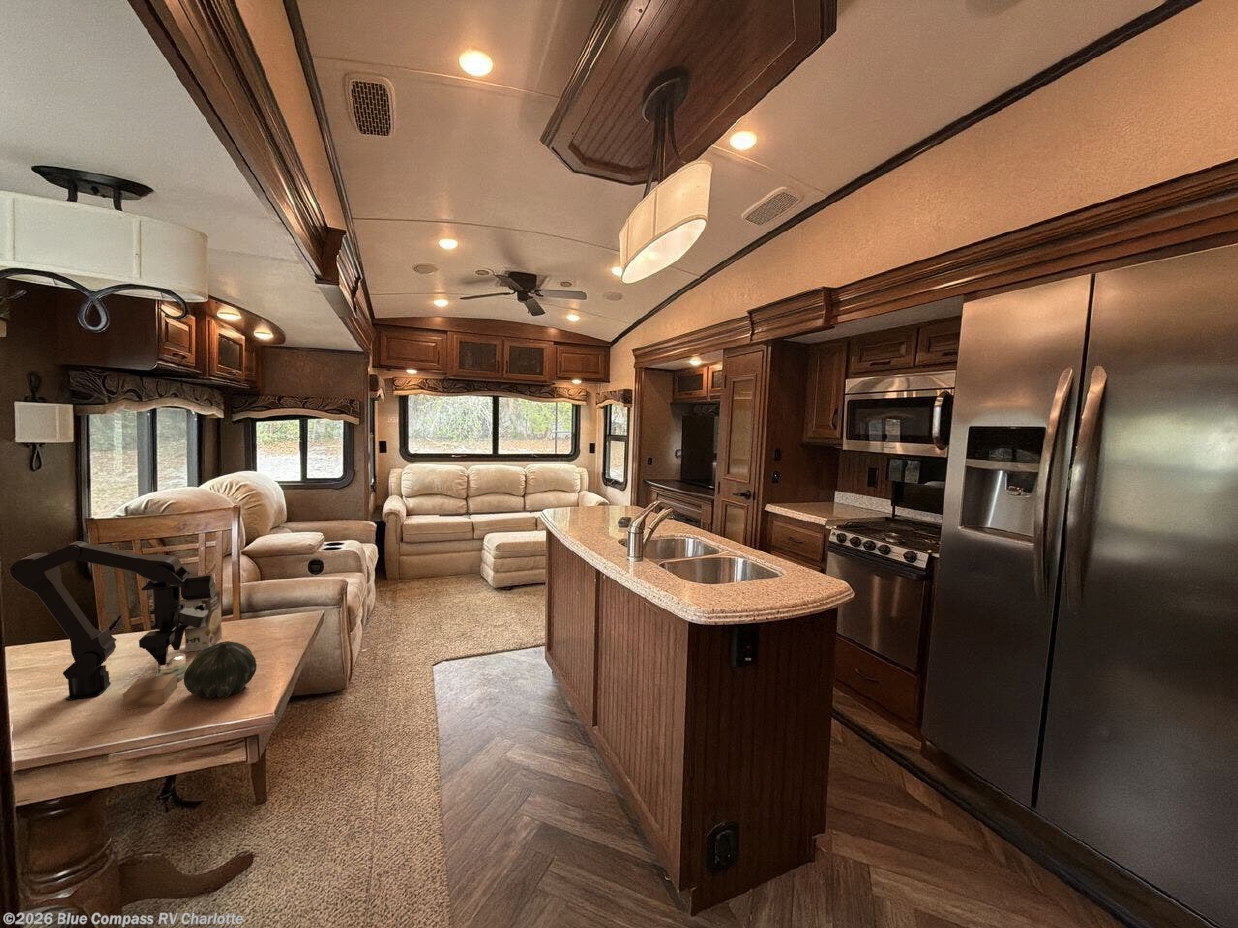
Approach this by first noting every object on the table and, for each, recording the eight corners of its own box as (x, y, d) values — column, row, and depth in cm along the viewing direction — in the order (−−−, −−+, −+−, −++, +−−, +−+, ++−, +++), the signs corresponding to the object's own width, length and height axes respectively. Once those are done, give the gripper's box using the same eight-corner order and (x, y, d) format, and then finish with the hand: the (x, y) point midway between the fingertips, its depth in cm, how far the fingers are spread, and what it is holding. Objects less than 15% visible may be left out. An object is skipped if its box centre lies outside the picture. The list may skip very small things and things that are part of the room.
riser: (123, 709, 126) (122, 694, 125) (138, 693, 133) (137, 678, 133) (164, 703, 129) (163, 688, 129) (177, 687, 136) (176, 673, 136)
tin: (153, 686, 136) (151, 665, 136) (163, 675, 142) (161, 655, 141) (181, 682, 139) (180, 661, 138) (190, 671, 144) (188, 651, 144)
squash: (203, 658, 141) (187, 634, 131) (266, 652, 146) (255, 629, 136) (186, 711, 132) (167, 690, 122) (254, 703, 137) (242, 682, 127)
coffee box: (209, 649, 158) (206, 600, 156) (184, 652, 156) (181, 601, 154) (222, 637, 166) (220, 590, 165) (199, 639, 164) (196, 591, 163)
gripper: (191, 611, 133) (194, 667, 134) (214, 588, 150) (217, 638, 152) (136, 617, 129) (140, 675, 130) (166, 592, 146) (170, 644, 147)
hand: (170, 657), depth 140 cm, fingers open, 9 cm apart
